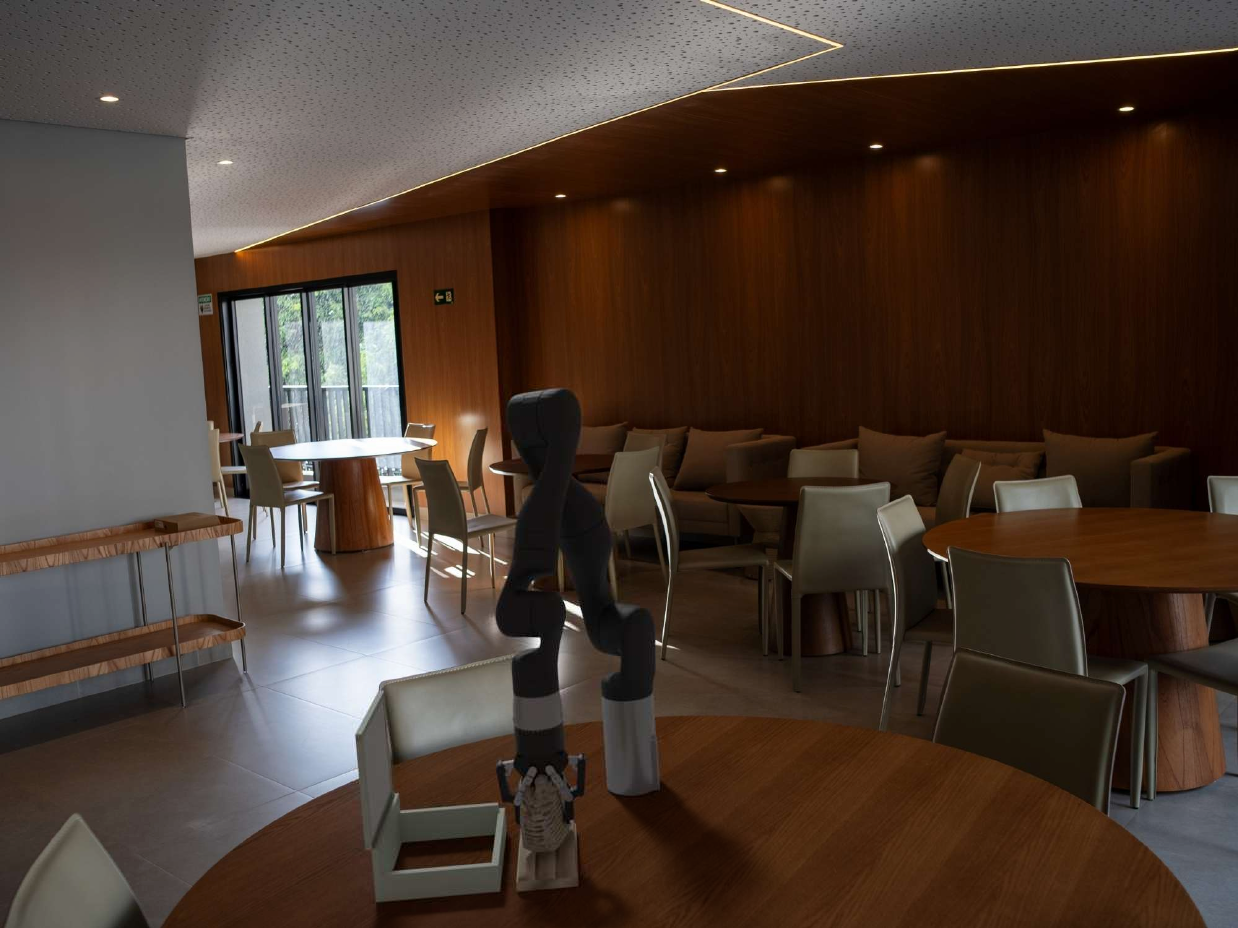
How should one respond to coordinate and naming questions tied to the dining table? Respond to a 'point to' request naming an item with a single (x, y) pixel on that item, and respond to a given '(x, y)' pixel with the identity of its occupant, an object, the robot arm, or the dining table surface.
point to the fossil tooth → (543, 816)
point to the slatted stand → (549, 865)
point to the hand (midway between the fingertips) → (545, 823)
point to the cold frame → (417, 826)
